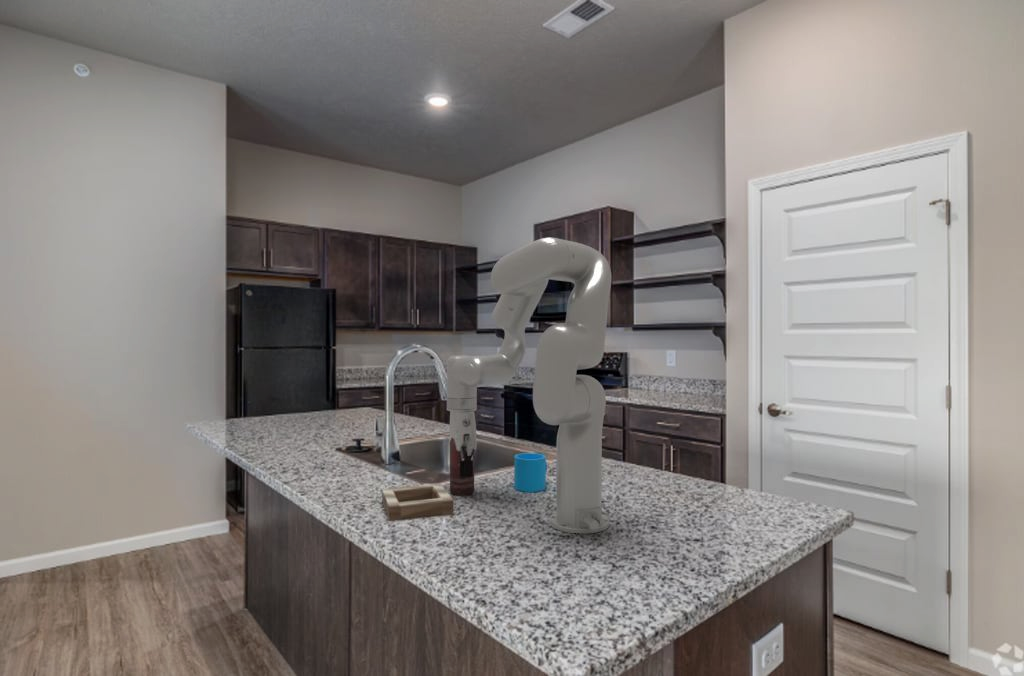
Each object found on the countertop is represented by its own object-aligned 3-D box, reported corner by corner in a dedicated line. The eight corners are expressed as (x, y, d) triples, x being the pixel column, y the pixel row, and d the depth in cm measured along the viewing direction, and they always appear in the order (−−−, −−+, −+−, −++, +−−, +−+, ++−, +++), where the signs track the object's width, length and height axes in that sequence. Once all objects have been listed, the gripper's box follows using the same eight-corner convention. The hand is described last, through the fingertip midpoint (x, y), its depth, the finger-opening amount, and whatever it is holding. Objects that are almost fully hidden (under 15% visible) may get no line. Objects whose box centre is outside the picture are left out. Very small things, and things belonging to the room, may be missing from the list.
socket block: (453, 514, 122) (453, 499, 122) (389, 521, 117) (388, 506, 117) (440, 497, 135) (440, 483, 135) (382, 503, 130) (382, 489, 130)
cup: (476, 489, 142) (476, 435, 142) (471, 496, 135) (471, 439, 135) (453, 488, 142) (452, 434, 142) (447, 495, 136) (447, 439, 136)
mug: (534, 493, 138) (534, 461, 138) (508, 488, 143) (508, 457, 143) (558, 483, 148) (558, 452, 148) (533, 478, 152) (533, 449, 152)
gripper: (485, 408, 132) (485, 479, 132) (467, 399, 148) (467, 463, 148) (455, 409, 129) (454, 481, 129) (440, 400, 146) (439, 465, 146)
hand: (461, 471), depth 139 cm, fingers open, 9 cm apart
